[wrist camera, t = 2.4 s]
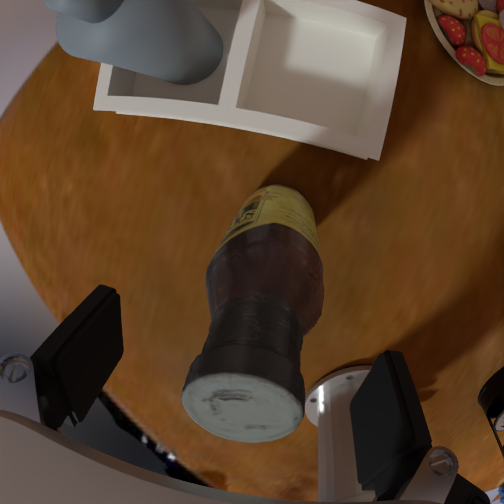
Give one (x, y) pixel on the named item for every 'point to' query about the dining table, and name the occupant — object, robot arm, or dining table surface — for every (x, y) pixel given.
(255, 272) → the sauce bottle
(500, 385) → the french press
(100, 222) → the dining table surface
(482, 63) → the toy food set
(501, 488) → the grapes
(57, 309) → the dining table surface
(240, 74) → the condiment caddy
